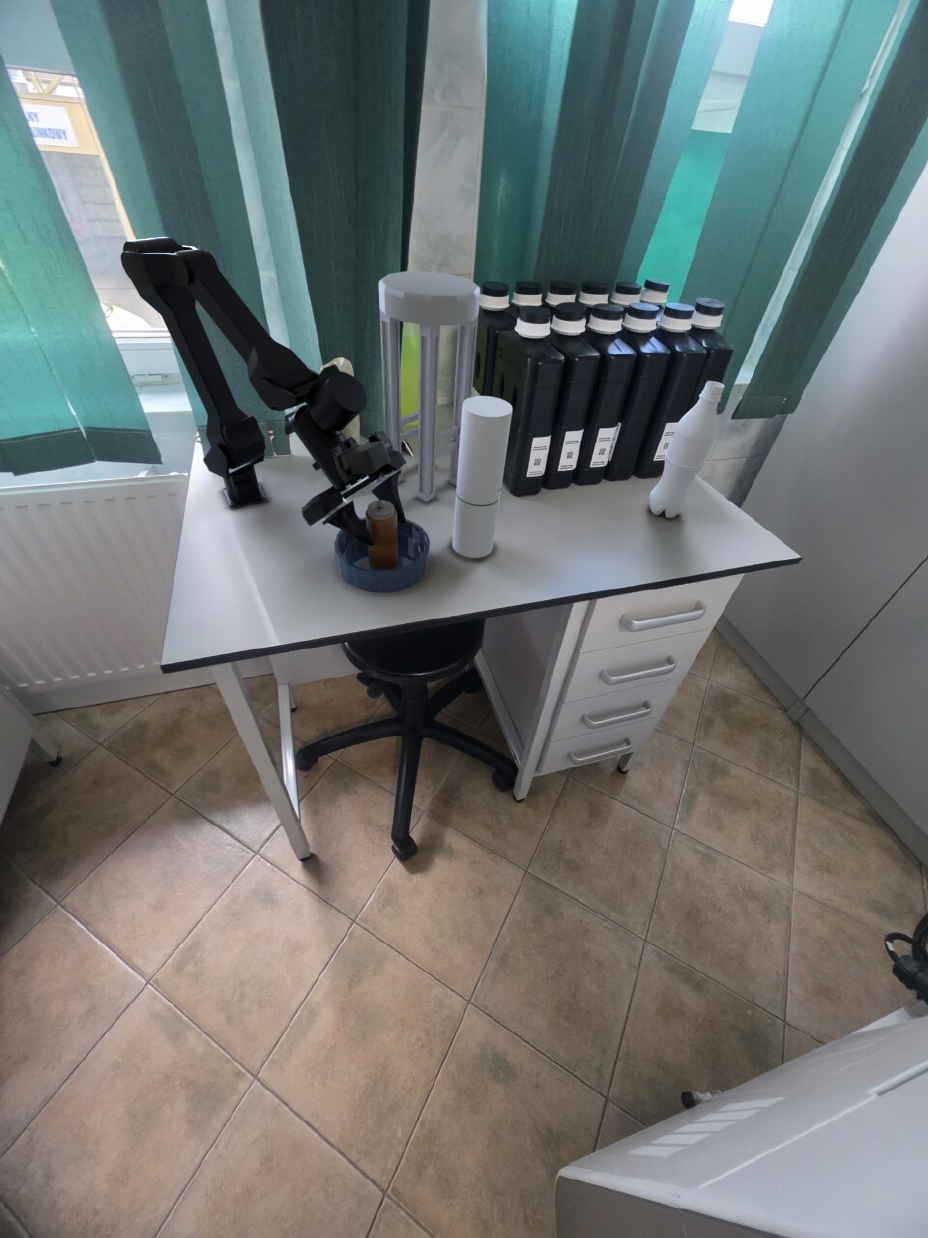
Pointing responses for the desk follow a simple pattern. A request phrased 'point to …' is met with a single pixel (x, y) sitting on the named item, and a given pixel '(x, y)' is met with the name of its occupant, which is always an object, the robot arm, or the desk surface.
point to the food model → (354, 425)
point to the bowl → (402, 576)
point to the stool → (427, 361)
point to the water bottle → (687, 452)
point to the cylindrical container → (480, 473)
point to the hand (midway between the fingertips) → (388, 533)
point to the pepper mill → (382, 535)
